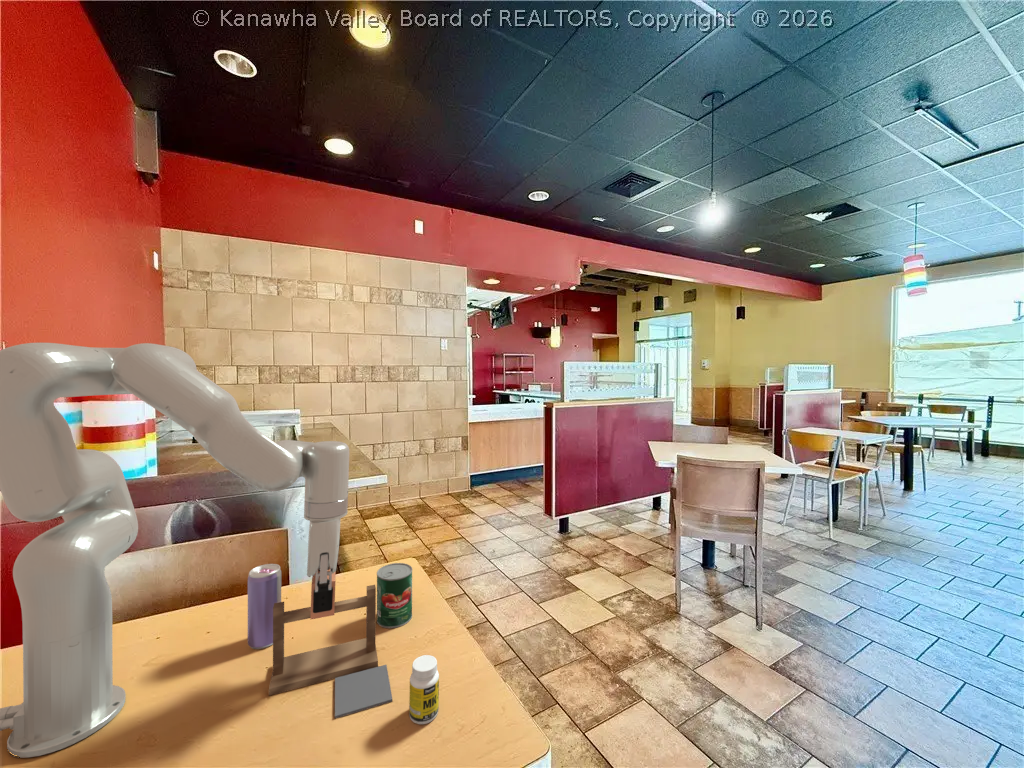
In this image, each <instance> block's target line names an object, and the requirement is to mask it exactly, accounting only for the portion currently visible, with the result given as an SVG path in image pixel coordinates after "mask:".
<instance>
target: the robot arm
mask: <svg viewBox="0 0 1024 768" xmlns="http://www.w3.org/2000/svg"><path fill="white" fill-rule="evenodd" d="M108 395H109V396H110V395H113V396H114V395H133V396H135V397H136V398H137V399H139V400H141V402H142V401H143V402H144V403H145V404H147V405H148V406H150V407H152V408H153V409H154V410H156V411H157V412H159V413H161V414H162V415H164V416H165V417H167V418H168V419H169V420H171V421H172V422H174V423H176V424H177V425H179V426H180V427H181V428H183V429H185V430H186V431H187V432H188V433H190V434H191V435H192V436H193V437H194V439H195V440H196V441H197V443H198V444H199V445H200V446H201V447H202V448H203V449H204V450H205V451H206V452H207V453H208V454H209V455H210V456H211V457H212V458H213V459H214V460H215V461H216V462H217V463H218V464H220V465H221V466H222V467H224V468H225V469H226V470H227V471H229V472H230V473H232V474H234V475H235V476H236V477H238V478H240V479H241V480H243V481H244V482H246V483H247V484H249V485H251V487H254V488H257V489H259V490H261V491H263V492H264V491H265V492H271V493H272V492H274V493H275V492H276V493H277V492H281V491H283V490H286V489H288V488H290V487H291V486H292V485H293V484H294V483H295V482H297V480H298V479H300V478H302V477H303V478H304V501H303V502H304V505H303V506H304V508H303V518H304V520H307V521H309V527H308V538H307V539H308V540H307V542H308V543H307V545H308V546H307V564H306V569H307V570H306V576H307V577H309V578H311V577H313V576H314V575H315V572H316V575H315V576H316V579H315V590H314V595H313V613H319V612H324V611H330V610H332V601H333V587H332V572H333V573H334V572H335V571H337V565H338V560H339V559H338V558H339V549H340V537H341V535H340V534H341V519H342V518H345V517H346V516H347V515H348V511H349V510H348V509H349V508H348V507H349V497H348V496H349V482H350V481H349V478H350V477H349V476H350V475H349V474H350V473H349V472H350V469H349V468H350V447H349V445H348V444H347V443H346V442H343V441H339V440H338V441H337V440H326V441H325V440H324V441H317V442H313V441H303V440H300V441H299V440H294V439H282V440H279V441H276V442H275V441H274V440H272V439H271V438H269V437H268V436H266V434H264V433H262V431H260V430H259V429H258V428H256V427H255V426H253V424H251V423H250V421H248V420H247V418H246V417H245V416H244V415H243V413H242V412H241V410H240V408H239V405H238V402H237V400H236V398H235V397H234V396H233V395H232V394H231V393H230V392H228V391H227V390H226V389H224V388H222V387H221V386H220V385H218V384H216V382H214V381H213V380H211V379H210V378H208V377H207V376H206V375H204V374H203V373H201V372H200V371H199V370H198V369H197V365H196V362H195V360H194V359H193V357H191V355H190V354H189V353H187V352H185V351H184V350H182V349H180V348H177V347H174V346H170V345H169V346H168V345H163V344H157V343H147V342H145V343H144V342H143V343H137V344H136V343H135V344H132V345H130V346H127V347H95V346H94V347H90V346H89V347H88V346H82V345H81V346H80V345H72V344H65V343H57V342H29V343H28V342H27V343H21V344H16V345H12V346H8V347H6V348H3V349H1V350H0V494H1V495H2V499H3V501H4V504H5V505H6V508H7V510H9V512H10V513H11V514H12V516H14V517H15V518H17V519H19V520H21V521H25V522H30V523H39V522H45V521H49V520H53V519H56V518H60V517H62V519H63V522H62V523H60V524H58V525H56V526H54V527H51V528H50V529H48V530H46V531H44V532H42V533H41V534H39V535H37V536H36V537H35V538H33V539H32V540H30V541H29V543H27V544H26V545H25V546H24V548H22V550H21V551H20V552H19V554H18V555H17V557H16V559H15V561H14V563H13V567H12V578H13V583H14V586H15V589H16V593H17V596H18V599H19V603H20V608H21V609H20V610H21V621H22V663H23V664H22V669H23V670H22V671H23V672H22V673H23V674H22V676H23V678H22V680H23V681H22V682H23V683H22V684H23V694H22V695H23V696H22V697H23V702H22V703H20V704H16V705H9V706H5V707H0V732H2V731H3V730H4V731H5V730H7V729H9V730H12V731H11V733H10V734H9V736H8V738H7V741H6V749H8V750H9V752H11V753H12V754H14V755H17V756H19V757H20V758H21V759H22V758H33V757H41V756H44V755H48V754H52V753H54V752H57V751H60V750H62V749H65V748H68V747H70V746H72V745H74V744H76V743H78V742H80V741H82V740H84V739H86V738H88V737H89V736H91V735H93V734H95V733H96V732H97V731H99V730H101V729H102V728H103V727H105V726H106V725H107V724H109V722H110V721H112V720H113V719H114V718H115V717H116V716H117V715H118V714H119V713H120V711H121V710H122V709H123V707H124V705H125V703H126V695H127V694H126V691H125V689H124V688H123V687H122V686H119V685H115V684H113V678H114V677H113V672H114V671H113V599H112V597H113V596H112V592H111V588H110V585H109V583H108V581H107V577H106V574H105V570H106V567H107V566H109V564H110V563H112V562H113V561H114V560H116V559H117V558H119V557H120V556H121V555H122V554H124V553H125V552H126V551H127V550H128V549H129V548H130V547H131V546H132V545H133V544H134V542H135V540H136V539H137V537H138V532H139V521H138V516H137V512H136V509H135V507H134V504H133V503H134V502H133V499H132V497H131V494H130V491H129V488H128V484H127V481H126V478H125V476H124V473H123V470H122V468H121V466H120V465H119V464H118V462H117V461H116V460H115V459H114V458H113V457H112V456H110V455H109V454H107V453H105V452H103V451H100V450H96V449H89V448H88V449H87V448H86V449H83V448H82V449H78V448H77V445H76V443H75V441H74V438H73V434H72V430H71V427H70V425H69V423H68V421H67V420H66V419H65V417H64V416H63V415H62V413H60V411H59V410H58V409H57V407H56V405H55V401H56V400H58V399H60V398H75V397H88V396H89V397H90V396H91V397H92V396H108ZM327 570H330V571H327ZM318 571H320V573H318ZM328 575H329V580H328V579H327V576H328ZM319 577H320V580H319ZM328 585H329V586H328ZM8 750H7V751H8ZM19 757H18V758H19Z"/></svg>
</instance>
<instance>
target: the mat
mask: <svg viewBox="0 0 1024 768" xmlns="http://www.w3.org/2000/svg"><path fill="white" fill-rule="evenodd" d="M387 665H388V664H383V665H380V666H379V665H378V667H375V668H371V669H367V670H364V671H360V672H356V673H352V674H349V675H345V676H341V677H337V678H334V718H335V719H339V718H341V717H345V716H348V715H352V714H355V713H358V712H362V711H365V710H368V709H373V708H375V707H378V706H382V705H385V704H389V703H391V702H393V694H392V689H391V683H390V677H389V671H388V666H387Z"/></svg>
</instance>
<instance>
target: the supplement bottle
mask: <svg viewBox="0 0 1024 768" xmlns="http://www.w3.org/2000/svg"><path fill="white" fill-rule="evenodd" d="M411 666H412V667H411V668H412V670H411V674H410V677H409V701H408V703H409V706H408V708H409V710H408V714H409V719H410V720H411V722H413V723H414V724H417V725H426V724H429V723H431V722H432V721H433V720H435V719H436V717H437V715H438V713H439V709H440V708H439V703H440V702H439V698H440V697H439V695H440V692H439V691H440V674H439V670H438V660H437V658H436V657H435V656H433V655H428V654H424V655H421V656H418V657H416V658H415V659H414V660H413V661H412V665H411Z"/></svg>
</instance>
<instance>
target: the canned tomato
mask: <svg viewBox="0 0 1024 768" xmlns="http://www.w3.org/2000/svg"><path fill="white" fill-rule="evenodd" d="M412 618H413V567H412V566H411V565H410V564H408V563H403V562H395V563H390V564H386V565H384V566H381V567H380V568H379V569H378V570H377V572H376V622H377V623H376V624H378V625H379V626H380V627H381V628H385V629H396V628H400V627H402V626H404V625H407V624H408V623H409V622H410V621H411V619H412Z"/></svg>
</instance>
